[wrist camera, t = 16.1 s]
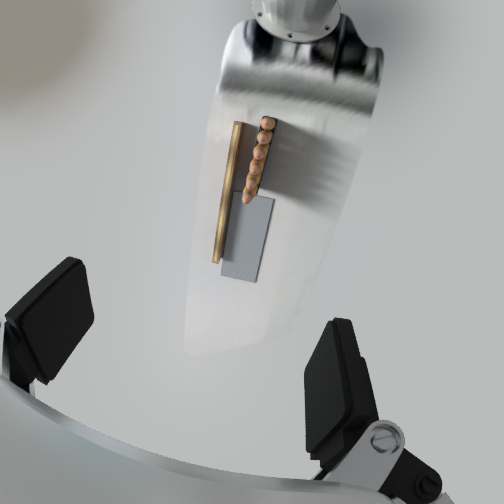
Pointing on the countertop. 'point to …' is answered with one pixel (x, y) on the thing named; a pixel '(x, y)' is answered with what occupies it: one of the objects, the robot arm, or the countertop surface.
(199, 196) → the countertop surface
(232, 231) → the flat gray rectangular panel
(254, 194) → the ammunition clip
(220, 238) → the straightedge
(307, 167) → the countertop surface
